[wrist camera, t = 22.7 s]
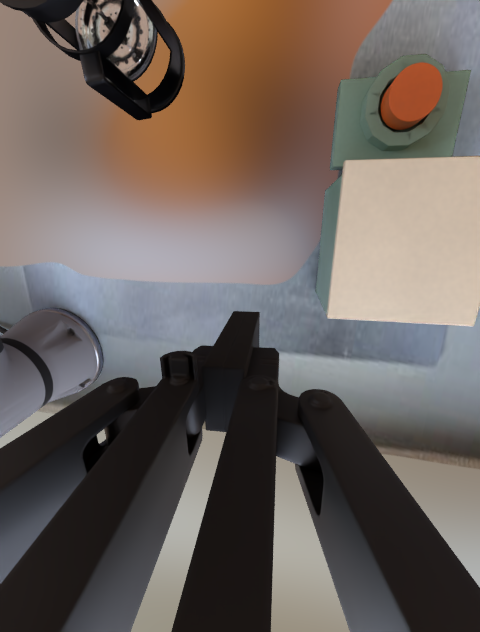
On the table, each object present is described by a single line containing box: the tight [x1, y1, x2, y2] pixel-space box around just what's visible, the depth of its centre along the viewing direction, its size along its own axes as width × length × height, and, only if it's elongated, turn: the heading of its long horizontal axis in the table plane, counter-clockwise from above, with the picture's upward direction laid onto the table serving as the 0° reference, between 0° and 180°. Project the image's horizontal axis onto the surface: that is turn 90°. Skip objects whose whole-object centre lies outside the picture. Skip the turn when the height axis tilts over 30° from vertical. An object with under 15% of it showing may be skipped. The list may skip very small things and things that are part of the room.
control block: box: [330, 54, 471, 170], centre depth 28 cm, size 12×9×4 cm
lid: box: [326, 156, 480, 326], centre depth 23 cm, size 14×13×1 cm
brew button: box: [381, 62, 443, 130], centre depth 25 cm, size 4×4×2 cm
